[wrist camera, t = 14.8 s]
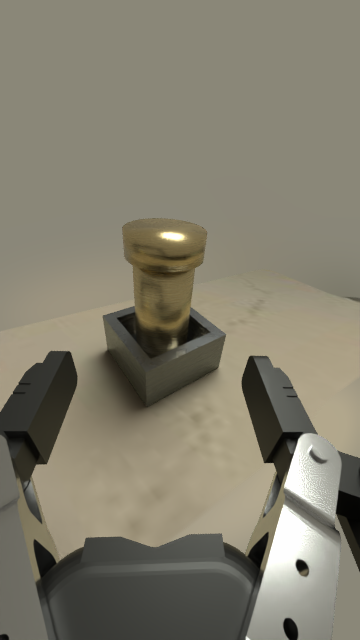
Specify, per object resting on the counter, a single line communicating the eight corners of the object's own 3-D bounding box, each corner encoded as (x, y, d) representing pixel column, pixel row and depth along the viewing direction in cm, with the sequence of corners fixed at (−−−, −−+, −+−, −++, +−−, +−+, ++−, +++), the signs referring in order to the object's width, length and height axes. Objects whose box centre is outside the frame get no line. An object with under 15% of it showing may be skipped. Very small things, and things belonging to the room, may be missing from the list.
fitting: (151, 388, 22) (151, 248, 14) (121, 349, 26) (108, 222, 18) (202, 361, 25) (224, 235, 17) (168, 330, 29) (174, 215, 21)
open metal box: (146, 407, 21) (145, 372, 18) (107, 349, 26) (102, 315, 24) (218, 367, 25) (226, 334, 22) (172, 324, 31) (174, 294, 28)
